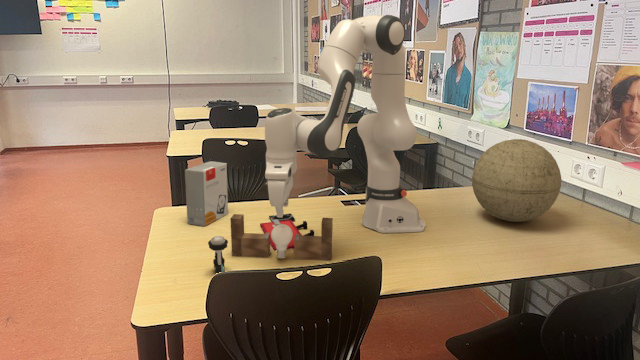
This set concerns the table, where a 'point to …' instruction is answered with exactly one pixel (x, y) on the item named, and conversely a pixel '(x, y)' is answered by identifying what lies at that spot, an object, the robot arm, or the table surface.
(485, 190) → the mottled brown seamed ball
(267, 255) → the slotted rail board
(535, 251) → the table surface
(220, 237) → the push button
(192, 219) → the hard drive box
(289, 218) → the red board with handle
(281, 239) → the lightbulb
